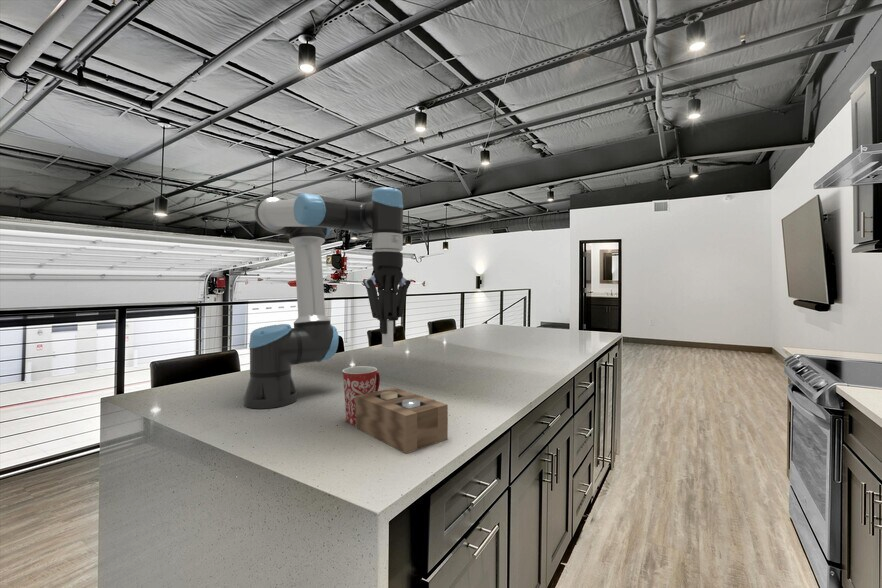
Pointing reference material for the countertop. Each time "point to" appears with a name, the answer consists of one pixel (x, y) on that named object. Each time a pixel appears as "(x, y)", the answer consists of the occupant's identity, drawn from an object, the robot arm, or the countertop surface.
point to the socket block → (402, 420)
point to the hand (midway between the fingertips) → (387, 346)
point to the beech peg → (389, 395)
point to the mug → (358, 387)
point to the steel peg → (410, 403)
